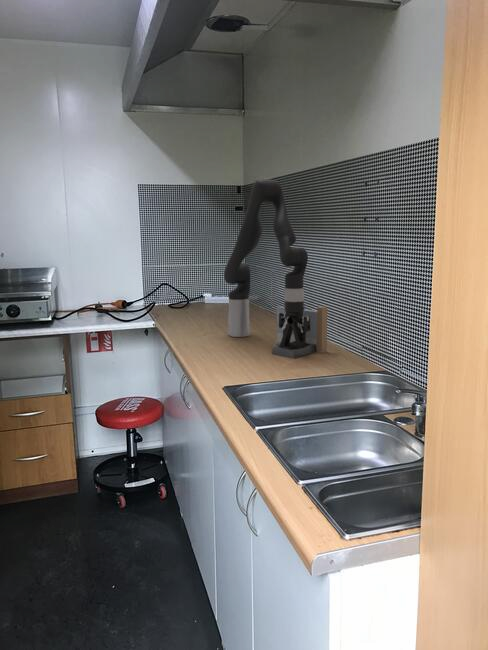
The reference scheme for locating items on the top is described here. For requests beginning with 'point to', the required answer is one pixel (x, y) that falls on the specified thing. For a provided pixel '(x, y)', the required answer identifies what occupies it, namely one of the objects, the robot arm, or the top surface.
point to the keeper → (293, 353)
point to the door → (316, 328)
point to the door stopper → (288, 332)
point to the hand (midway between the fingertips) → (294, 340)
